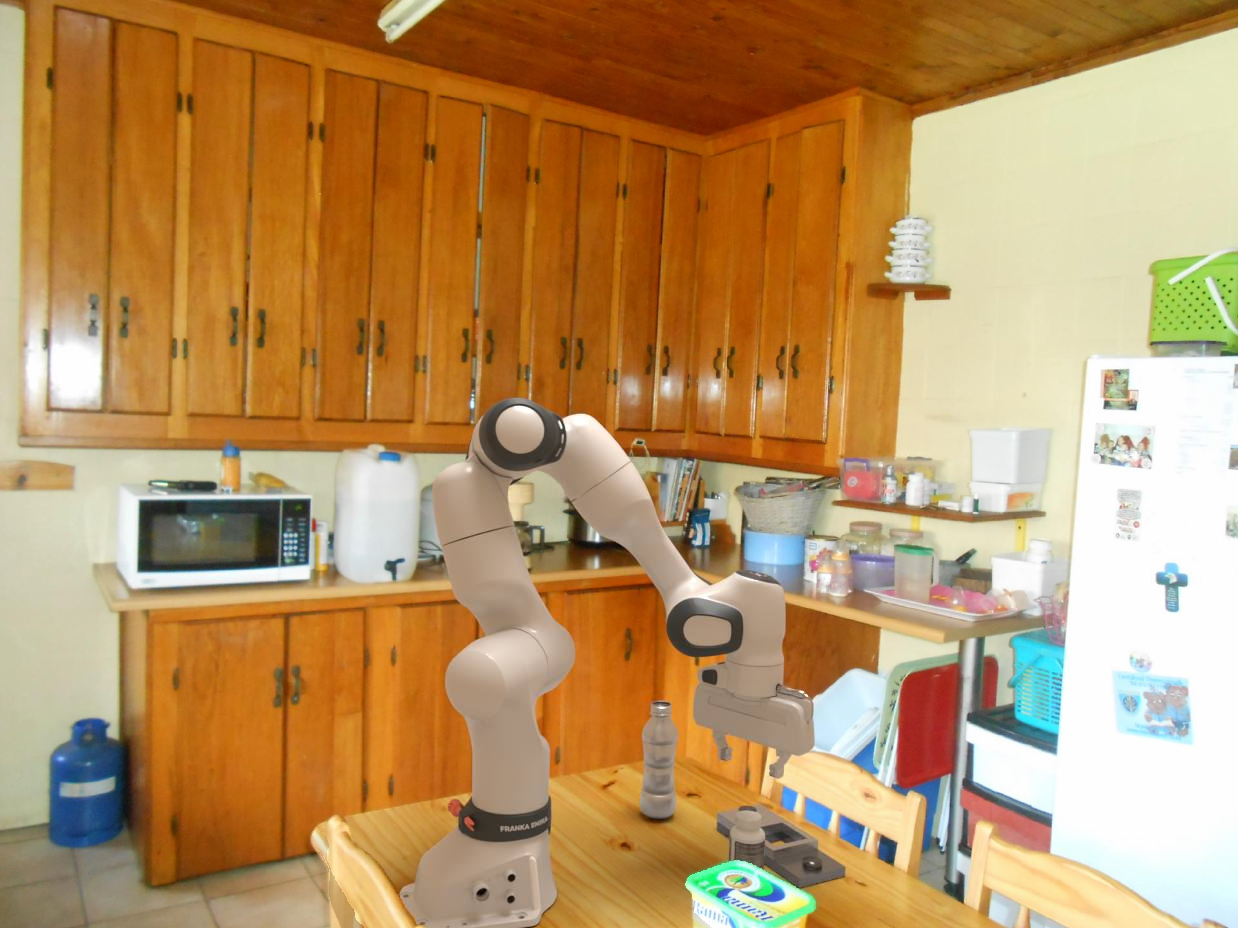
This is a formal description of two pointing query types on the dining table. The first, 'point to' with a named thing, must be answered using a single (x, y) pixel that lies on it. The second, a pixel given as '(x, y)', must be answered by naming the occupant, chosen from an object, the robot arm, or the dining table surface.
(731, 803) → the dining table surface
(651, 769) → the plastic bottle
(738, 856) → the pill bottle
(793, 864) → the bottle holder plate
